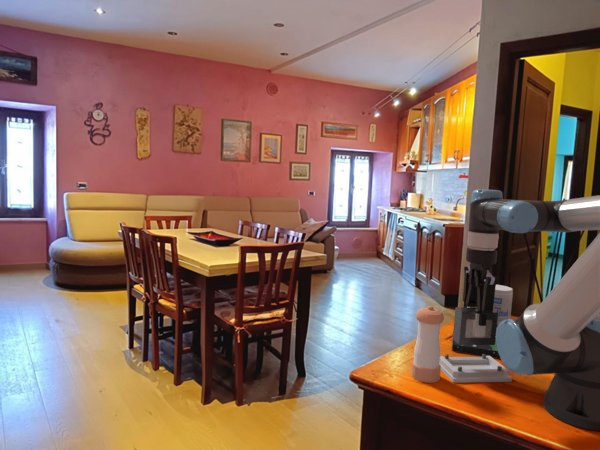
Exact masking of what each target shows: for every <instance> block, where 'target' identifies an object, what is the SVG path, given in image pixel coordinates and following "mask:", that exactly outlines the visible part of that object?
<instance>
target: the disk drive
mask: <svg viewBox="0 0 600 450" xmlns="http://www.w3.org/2000/svg"><path fill="white" fill-rule="evenodd" d="M451 341H452V344H451V352H456V353H462V354H468V355H469V354H470V355H476V356H479V357H482V354H485V355H486V356H491V357H492V358H493V359H501V358H500V355H499V353H498V349H497V344H496V339H495V345H459V344H458V343H456V342H455V341H454V340H453V339H452V340H451Z"/></svg>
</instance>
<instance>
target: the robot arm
mask: <svg viewBox="0 0 600 450" xmlns="http://www.w3.org/2000/svg"><path fill="white" fill-rule="evenodd" d="M470 198H471V200H470V203H469V217H468V218H469V219H468V233H467V243H466V245H467V246H468V247H467V248H466V254H465V255H466V256H465V260H466V261H467V262H468V263H470V264H469V266H464V267H463V274H464V276H463V277H464V279H463V289H462V291H463V292H462V301H463V303H464V302H466V306H467V308H477V307H474V306H478V311H475V313H476V315H475V326H474V337H485V328H486V319H487V314H490V313H493V305H494V296H495V287H496V285H497V283H498V281H499V280H498V277H497V276H493V275H492V274H493V272H492V271H493V270H492V265H496V264H497V257H498V250H497V248H498V245H499V239H500V236H499V234H500V230H502V231H505V232H509V233H511V234H513V233H514V234H515V233H516V234H526V233H528V232H549V233H550V232H553V233H571V232H573V233H574V232H579V231H600V195H592V196H584V197H579V198H578V197H575V198H571V199H570V198H569V199H560V200H530V199H529V200H527V199H523V200H522V199H504V198H503V192H502V191H501V190H499V189H498V190H497V189H483V188H482V189H481V188H479V189H474V190H473V191H472V192H471V197H470ZM477 298H478V304H477ZM599 314H600V232H599V233H598V234H597V235H596V236H595V238H594V239H593V240H592V242H590V244H589V245H588V246H587V247H586V248H585V250H584V251H583V252H582V253H581V255H580V256H579V257H578V258H577V259H576V261H575V262H573V264H572V266H571V267H570V268H569V269H568V270H567V271H566V272H565V274H564V275H563V276H562V278H561V279H560V280H559V281H558V282H557V283H556V284H555V286H554V287H553V288H552V290H551V291H549V293H548V294H547V296H546V297H545V298H544V299H543V301H542V302H541V303H532V304H530V305H528V306H527V307H526V308H525V310H524V311H523V312H522V313H521V315H519V317H517V318H516V319H512V318H510V319H508V320H504V321H502V322H500V324H499V325H498V328H497V331H496V338H495V340H496V344H497V349H498V353H499V355H500V358H501V361H502V363H503V366H504V367H505V368H506V369H508V370H509V371H510V372H511V373H513V374H515V375H521V376H522V375H523V376H524V375H525V376H530V377H531V376H533V375H550V374H551V375H552V374H554V375H553V378H552V379H551V382H550V383H549V385H548V387H547V390H546V391H545V392H544V395H543V402H542V403H543V404H542V405H543V407H544V409H545V410H546V411H547V412H548V413H549V414H550V415H551V416H553V417H554V418H556V419H558V420H560V421H562V422H563V423H566V424H569V425H572V426H574V427H578V428H581V429H584V430H590V431H596V432H600V315H599Z"/></svg>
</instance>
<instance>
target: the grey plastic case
mask: <svg viewBox="0 0 600 450" xmlns="http://www.w3.org/2000/svg"><path fill="white" fill-rule="evenodd" d="M475 311H478V308H467V307H461V306H459V307H458V306H457V307H455V310H454V317H453V318H454V319H453V321H454V322H453V330H452V341H453V340H454V341H455V342H456V343H458V344H459V345H495V340H496V329H497V319H498V312H496V311H495V310H493V313H490V314H487V319H486V328H485V337H474V326H475V315H476V313H475Z"/></svg>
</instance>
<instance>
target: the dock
mask: <svg viewBox="0 0 600 450" xmlns="http://www.w3.org/2000/svg"><path fill="white" fill-rule="evenodd" d="M439 364H440V366H441V369H440V371H442V372H443V374H445V376H446V377H447V378H448V379H449V380H450V381H451V382H452V383H454V384H455V383H457V384H458V383H503V382H504V383H507V382H508V383H509V382H510V383H511V382H512V381H513V377H511V376H510V372H511V371H510V370H509V369H508V368H507V367H506V366H505V365H504V364H503V365H502V364H501V363H500V362H499V361H497V360H496V358H493V357H491V356H486V355H485V354H482V356H450V355H449V354H444V356H443V355H440V362H439Z"/></svg>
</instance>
